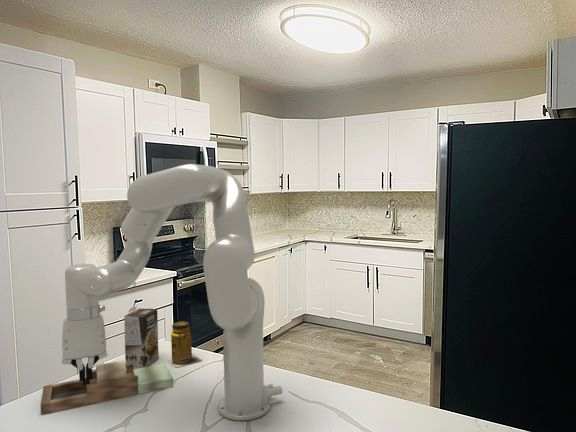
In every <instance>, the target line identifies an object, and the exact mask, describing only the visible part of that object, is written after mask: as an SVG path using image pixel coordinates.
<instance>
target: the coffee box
mask: <svg viewBox="0 0 576 432" xmlns="http://www.w3.org/2000/svg"><path fill="white" fill-rule="evenodd" d="M123 318H124V321H123V323H124V359H125V360H124V363H125V364H127V363H133V369H139V368H144V367H149V366H152V364H153V363H155V362H156V361H158V360H159V359H160V357H159V353H160V352H159V323H158V308H138V309H136V310H134V311H132V312H130V313H128V314H126V315H124V317H123Z"/></svg>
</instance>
